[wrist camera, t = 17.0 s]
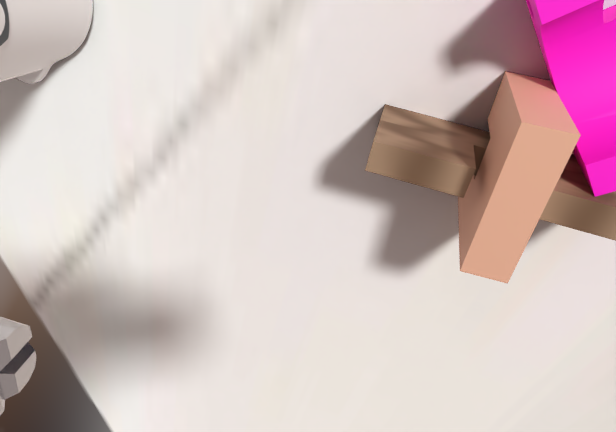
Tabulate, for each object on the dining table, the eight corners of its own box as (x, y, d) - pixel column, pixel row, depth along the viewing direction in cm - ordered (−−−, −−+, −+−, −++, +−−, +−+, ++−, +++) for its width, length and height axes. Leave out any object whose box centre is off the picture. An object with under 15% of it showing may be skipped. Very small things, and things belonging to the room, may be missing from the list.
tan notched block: (458, 198, 46) (460, 271, 37) (505, 71, 39) (521, 122, 30) (496, 207, 46) (507, 283, 37) (550, 80, 39) (580, 135, 30)
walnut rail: (377, 130, 44) (364, 170, 38) (385, 104, 43) (373, 141, 36) (604, 191, 43) (632, 245, 36) (620, 166, 41) (652, 217, 35)
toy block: (659, 125, 39) (699, 167, 33) (573, 153, 42) (594, 196, 36) (614, -70, 33) (652, -63, 27) (518, -23, 36) (532, -8, 30)
